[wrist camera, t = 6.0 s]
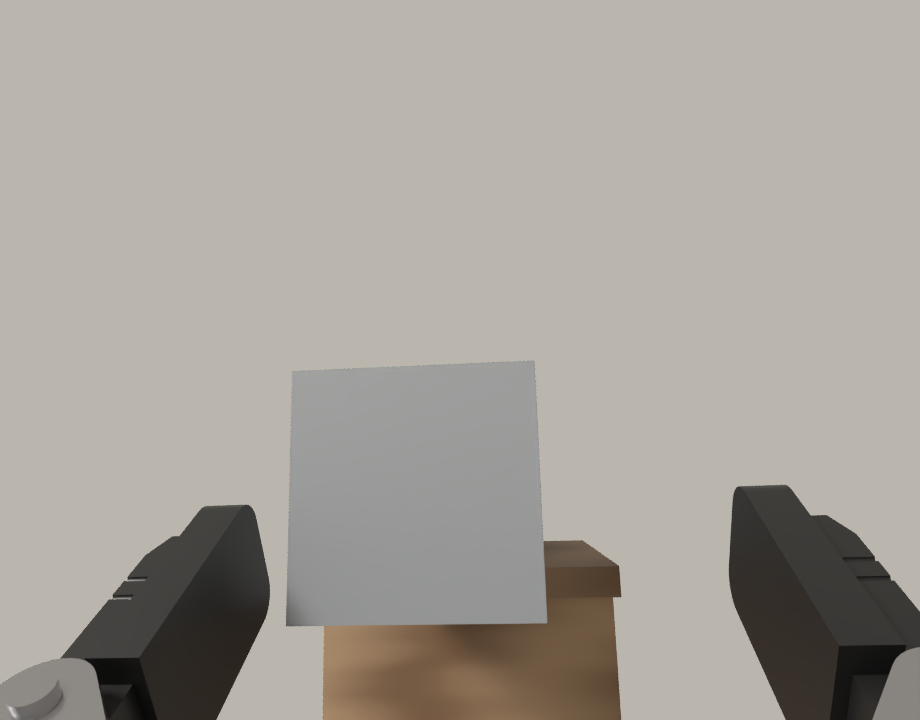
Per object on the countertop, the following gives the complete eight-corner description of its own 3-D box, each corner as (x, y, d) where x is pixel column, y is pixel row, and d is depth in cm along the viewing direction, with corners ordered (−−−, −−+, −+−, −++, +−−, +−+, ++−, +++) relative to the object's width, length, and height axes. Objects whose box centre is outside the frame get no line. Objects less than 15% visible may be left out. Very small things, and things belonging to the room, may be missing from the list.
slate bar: (286, 626, 11) (292, 371, 11) (443, 543, 31) (441, 454, 32) (547, 623, 10) (534, 360, 11) (532, 541, 31) (528, 451, 32)
